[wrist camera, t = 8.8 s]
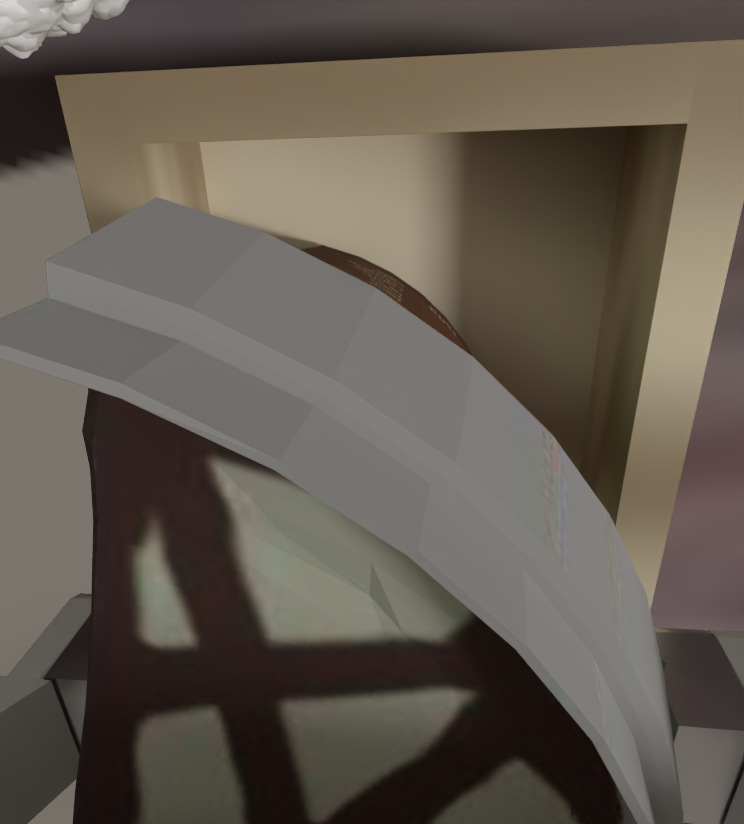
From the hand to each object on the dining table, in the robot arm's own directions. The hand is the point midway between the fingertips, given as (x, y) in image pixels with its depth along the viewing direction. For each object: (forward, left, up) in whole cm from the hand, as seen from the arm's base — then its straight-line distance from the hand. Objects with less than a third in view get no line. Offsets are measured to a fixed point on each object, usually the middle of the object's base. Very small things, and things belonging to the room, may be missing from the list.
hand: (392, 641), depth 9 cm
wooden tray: (+1, 0, -7) cm, 7 cm away
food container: (0, 0, -6) cm, 6 cm away
